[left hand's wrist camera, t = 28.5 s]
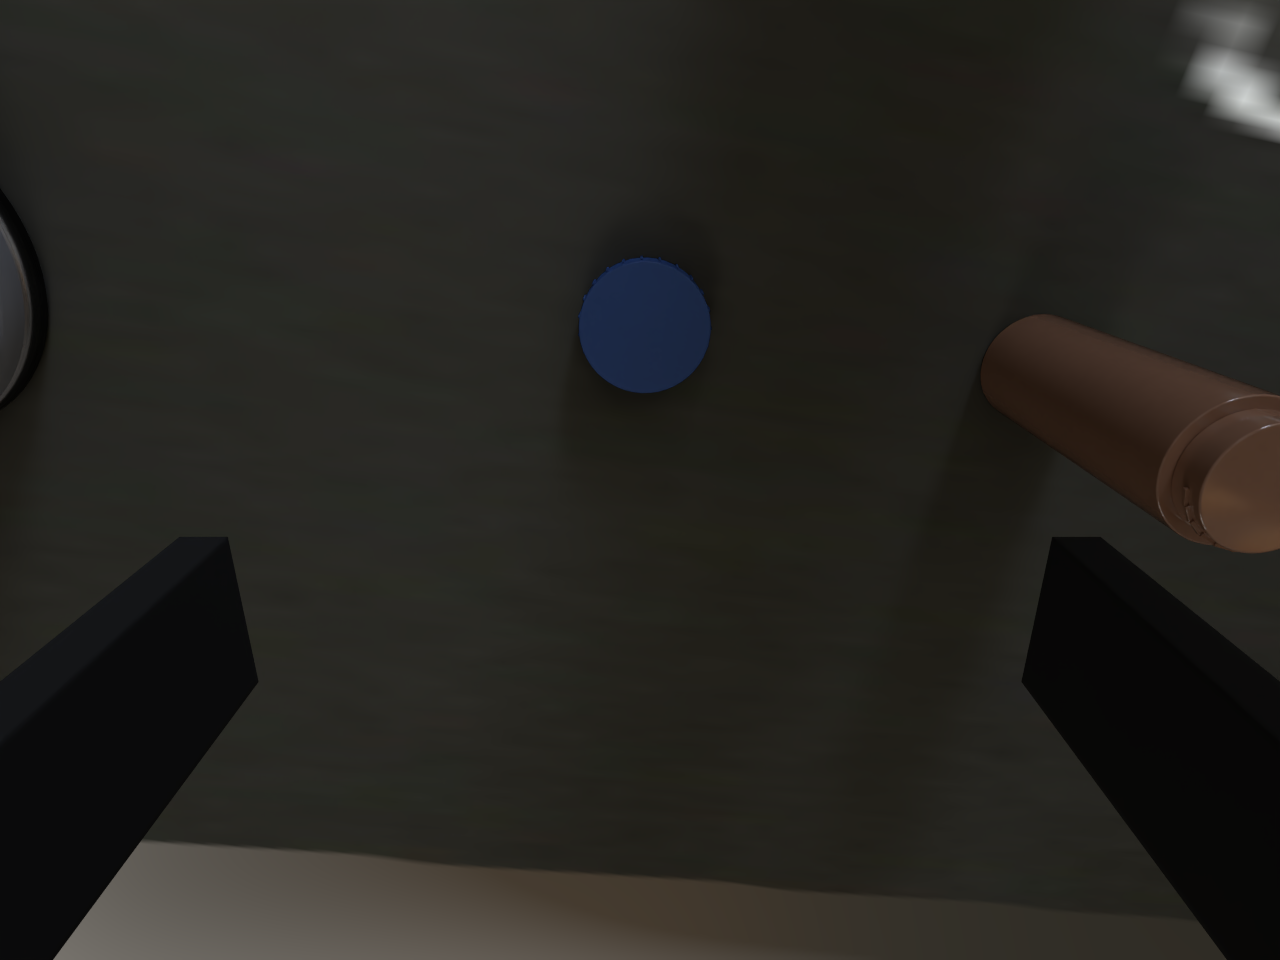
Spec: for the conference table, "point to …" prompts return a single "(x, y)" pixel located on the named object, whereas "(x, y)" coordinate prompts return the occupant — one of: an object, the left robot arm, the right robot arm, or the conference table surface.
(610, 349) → the lid
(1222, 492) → the jar
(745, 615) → the conference table surface
